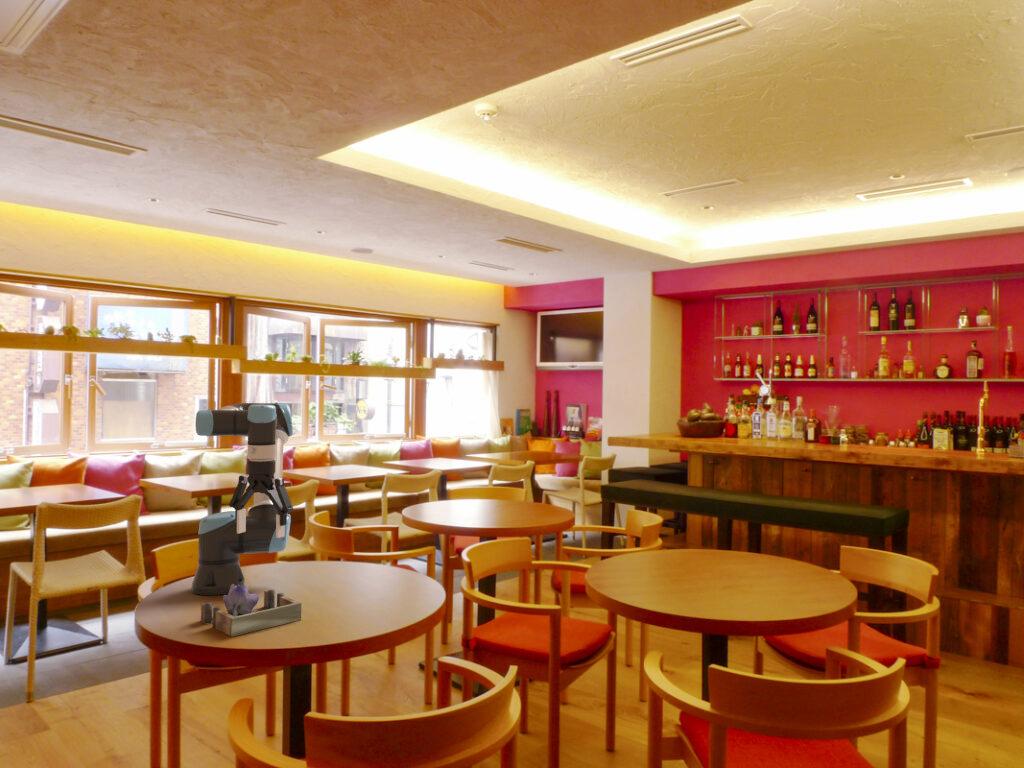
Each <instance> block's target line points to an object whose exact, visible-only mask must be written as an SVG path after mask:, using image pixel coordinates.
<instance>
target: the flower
mask: <svg viewBox="0 0 1024 768" xmlns="http://www.w3.org/2000/svg"><path fill="white" fill-rule="evenodd" d="M259 600H260V597H259V595H258V594H257V593H256V592H254V593H249V587H248V586H245V587H244V588H243V586H240V585H239V584H238V587H237V586H236V585H235V586H234V584H232V585H231V586H230V590H229V593H228V594H223V597H222V601H223V603H224V607H225V608H226V613H228V614H230V615H232V616H234V617H236V616H239V615H240V616H241V615H245V614H249V613H253V609H254V608H255V607H256V606H257V604H258V602H259Z"/></svg>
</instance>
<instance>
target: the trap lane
mask: <svg viewBox="0 0 1024 768" xmlns="http://www.w3.org/2000/svg"><path fill="white" fill-rule="evenodd" d="M275 591H276V590H275V589H268V590H264V591H263V607H264V608H266V607H267V608H266V609H263V610H259V611H254V612H251V613H249V614H245V615H241V614H240V615H237V616H236V617H234V616H233V614H229V613H228V612H227V611H226V612H225V611H224V610H221V609H222V608H221V607H222V606H213V603H212V602H206V603H201V604H200V622H202V621H204V622H203V623H204V624H205V623H210V624H212V629H216V628H217V629H216V630H218V629H219V630H218V631H220V630H221V631H220V632H222V631H223V633H224V634H226V635H228V636H230V637H232V638H233V637H236V636H240V635H245V634H248V632H249V633H252V631H253V632H257V631H261V630H265V629H269V628H273V627H277V626H281V625H285V624H288V623H289V624H290V623H292V622H293V623H294V622H298V621H301V620H302V602H300V601H298V600H294V599H292V598H289V597H287V596H285V593H284V592H279V593H277V594H275V593H276V592H275ZM275 598H276V601H275ZM275 603H276V604H275ZM275 605H276V607H275ZM260 629H261V630H260ZM256 630H257V631H256Z"/></svg>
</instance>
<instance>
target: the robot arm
mask: <svg viewBox="0 0 1024 768" xmlns="http://www.w3.org/2000/svg"><path fill="white" fill-rule="evenodd" d="M293 431H294V430H293V421H292V413H291V407H290V405H289V404H287V403H280V402H275V403H272V402H271V403H269V402H266V403H265V402H263V403H262V402H240V403H235V404H229V405H224V406H221V407H220V408H219V409H201V410H198V411H197V412H196V414H195V433H196V434H197V436H200V437H201V436H202V437H223V436H224V437H225V436H228V437H229V436H235V437H247V452H246V453H247V455H246V456H247V459H248V461H246V463H247V464H246V472H247V473H246V474H243V475H239V476H238V480H237V485H236V488H235V490H234V492H233V495H232V497H231V499H230V502H229V505H228V506H229V508H233V509H234V510H230V511H229V510H227V511H221V512H216V513H211V514H209V515H206V516H203V517H202V518H201V519H200V521H199V525H198V565H197V568H196V571H195V574H194V577H193V580H192V582H191V592H192V594H194V593H195V594H194V595H198V594H200V596H219V595H228V593H229V590H230V586H231V585H232V584H234V586H235V585H236V586H237V587H238V584H239V585H240V586H243V588H244V589H245V587H246V586H245V584H246V583H245V581H246V580H245V576H244V574H243V570H242V567H241V564H240V555H243V554H244V555H245V554H266V553H269V554H272V553H277V552H278V553H279V552H283V551H285V550H286V548H287V546H288V541H289V535H290V528H291V521H292V520H291V519H292V517H291V514H290V512H293V511H294V507H293V504H292V501H291V499H290V496H289V494H288V491H287V489H286V485H285V478H284V477H283V471H284V467H283V465H284V445H285V444H286V443H287V442H288V441H289V437H292V436H293V435H294V432H293ZM248 484H249V485H248ZM252 497H253V506H251V507H249V509H248V511H247V509H246V505H247V504H248V502H249V501H250V500H251V499H252ZM288 513H289V514H288Z"/></svg>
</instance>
